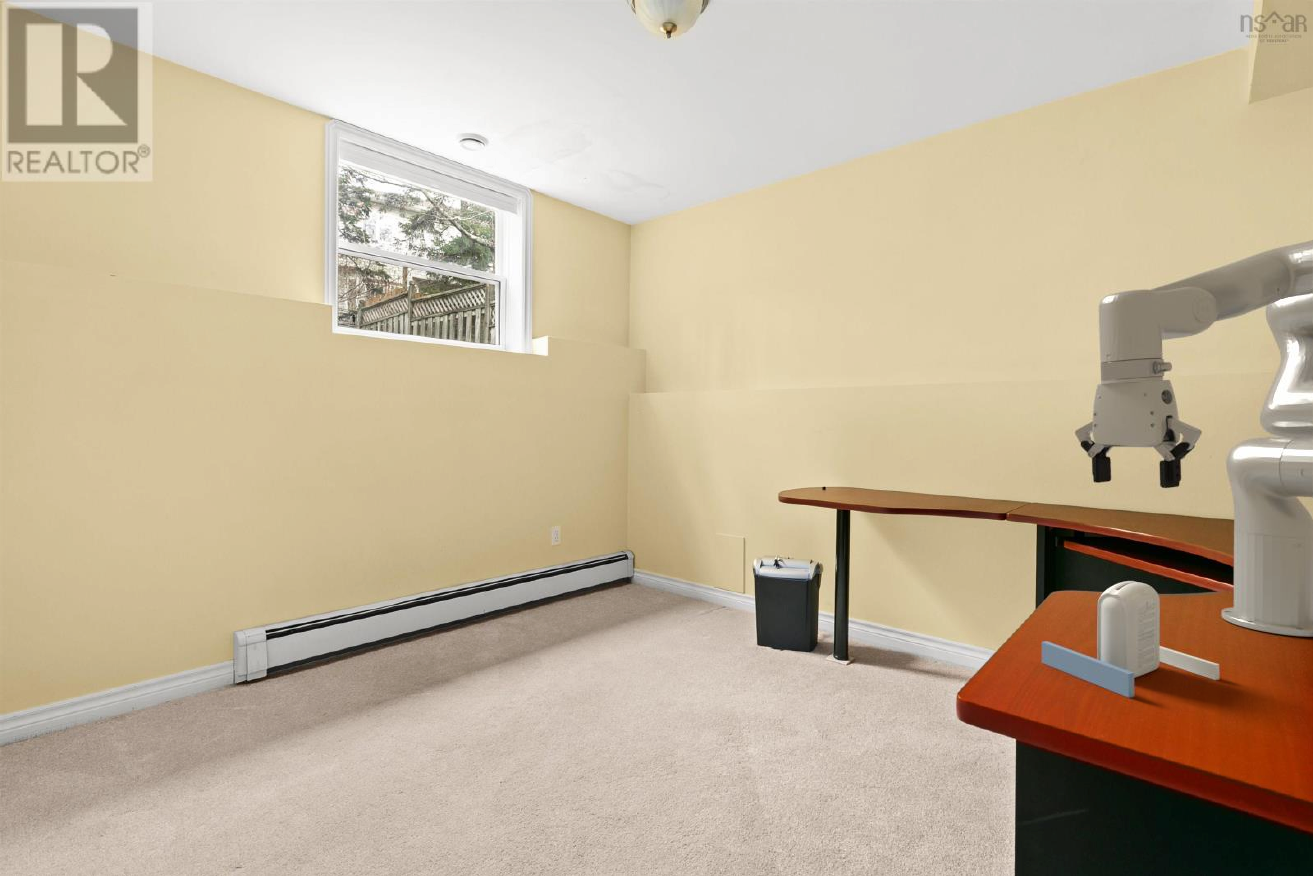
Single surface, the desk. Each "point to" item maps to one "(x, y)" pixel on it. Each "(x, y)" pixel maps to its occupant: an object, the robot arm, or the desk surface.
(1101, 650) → the photo printer
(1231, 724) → the desk surface
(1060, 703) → the desk surface
